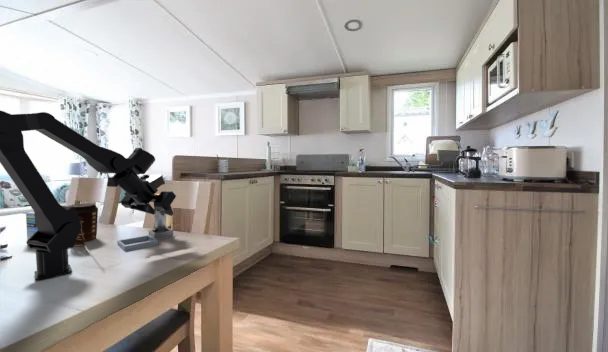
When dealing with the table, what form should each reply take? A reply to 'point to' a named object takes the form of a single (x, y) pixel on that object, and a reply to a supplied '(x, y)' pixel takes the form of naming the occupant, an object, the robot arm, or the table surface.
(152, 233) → the square socket base
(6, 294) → the table surface
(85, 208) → the coffee cup
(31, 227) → the light bulb box
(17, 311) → the table surface
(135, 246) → the tray
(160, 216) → the stop pin
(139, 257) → the table surface
